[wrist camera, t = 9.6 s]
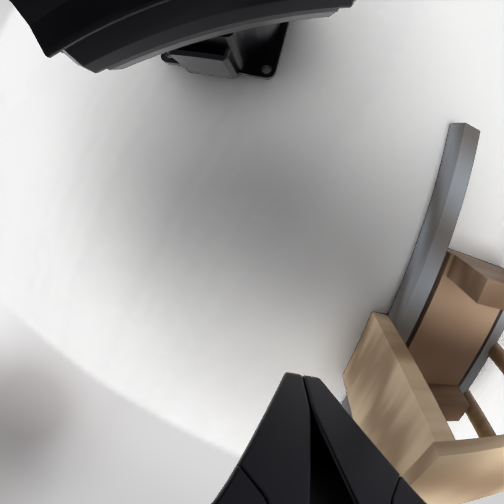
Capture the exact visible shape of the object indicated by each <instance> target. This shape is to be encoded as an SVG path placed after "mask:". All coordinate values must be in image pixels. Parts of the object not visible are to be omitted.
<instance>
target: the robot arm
mask: <svg viewBox="0 0 504 504" xmlns="http://www.w3.org/2000/svg"><path fill="white" fill-rule="evenodd" d="M10 1H11V2H12V4H13V5H14V6H15V8H16V9H17V10H18V11H19V13H20V14H21V15H22V17H23V18H24V19H25V21H26V22H27V23H28V25H29V26H30V28H31V30H32V32H33V34H34V35H35V37H36V39H37V41H38V43H39V45H40V47H41V48H42V50H43V52H44V54H45V55H46V56H47V57H49V58H51V57H53V56H54V55H56V54H58V53H59V52H62V53H65V54H66V55H67V56H68V57H69V58H70V59H71V60H73V61H74V62H75V63H76V64H78V65H80V66H82V67H84V68H86V69H88V70H90V71H92V72H94V73H99V72H101V71H103V70H105V69H109V70H117V69H124V68H127V67H129V66H131V65H134V64H136V63H139V62H141V61H144V60H146V59H149V58H152V57H154V56H157V55H160V54H161V58H162V60H163V61H164V62H165V63H167V64H173V65H182V66H183V67H184V68H185V69H187V70H188V71H189V72H191V73H198V74H205V75H212V76H218V77H224V78H229V79H234V78H235V77H237V76H238V74H241V75H246V76H251V77H256V78H261V79H271V78H272V77H274V75H275V73H276V70H277V66H278V62H279V58H280V55H281V51H282V47H283V43H284V39H285V36H286V32H287V28H288V25H289V21H295V20H302V19H310V18H319V17H329V16H331V15H332V14H334V13H335V12H337V11H338V9H339V8H350V7H351V6H352V5H353V4H354V2H355V1H356V0H10ZM168 54H169V55H170V56H171V57H172V58H169V59H168V58H167V56H168ZM264 67H269V68H270V69H271V72H270V73H268V74H265V73H263V72H262V69H263V68H264ZM399 476H400V474H399V473H398V471H397V470H396V469H395V468H394V467H393V466H392V464H391V463H390V462H389V461H388V460H387V459H386V457H385V456H384V455H383V454H382V453H381V452H380V450H379V449H378V448H377V447H376V446H375V444H374V443H373V442H372V441H371V440H370V439H369V437H368V436H367V435H366V434H365V433H364V431H363V430H362V429H361V428H360V427H359V425H358V424H357V423H356V422H355V421H354V419H353V418H352V417H351V416H350V415H349V413H348V412H347V411H346V410H345V409H344V407H343V406H342V405H341V404H340V403H339V401H338V400H337V399H336V398H335V397H334V395H333V394H332V393H331V392H330V390H329V389H328V388H327V387H326V386H325V384H324V383H323V382H322V381H321V380H320V379H319V378H317V377H311V376H301V375H300V374H294V373H289V372H286V373H285V374H284V376H283V378H282V380H281V382H280V384H279V386H278V388H277V390H276V392H275V394H274V396H273V398H272V400H271V402H270V404H269V406H268V408H267V410H266V412H265V414H264V416H263V418H262V419H261V421H260V423H259V425H258V427H257V429H256V431H255V433H254V434H253V436H252V438H251V440H250V442H249V444H248V445H247V447H246V449H245V451H244V453H243V455H242V456H241V458H240V460H239V462H238V464H237V465H236V467H235V468H234V470H233V472H232V474H231V475H230V477H229V479H228V480H227V482H226V483H225V485H224V486H223V488H222V489H221V491H220V492H219V494H218V496H217V497H216V498H215V500H214V501H213V502H212V503H211V504H427V503H426V502H425V501H424V500H423V499H422V498H421V497H420V496H419V495H418V494H417V493H416V492H415V491H414V489H413V488H412V487H411V486H410V485H409V484H408V483H407V482H406V480H405V479H404V478H403V477H402V476H400V477H399Z"/></svg>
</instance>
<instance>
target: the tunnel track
mask: <svg viewBox="0 0 504 504" xmlns="http://www.w3.org/2000/svg"><path fill="white" fill-rule="evenodd" d="M479 135H480V131H479V130H477V129H476V128H474V127H472V126H470V125H469V124H467V123H452V124H450V127H449V132H448V136H447V141H446V145H445V150H444V154H443V158H442V162H441V166H440V170H439V173H438V177H437V181H436V184H435V188H434V191H433V195H432V198H431V201H430V205H429V208H428V211H427V214H426V217H425V220H424V223H423V226H422V229H421V232H420V235H419V238H418V241H417V244H416V247H415V249H414V252H413V255H412V258H411V260H410V263H409V265H408V268H407V271H406V273H405V276H404V278H403V281H402V283H401V286H400V288H399V290H398V293H397V295H396V298H395V300H394V302H393V305H392V307H391V309H390V311H389V314H388V315H385V314H380V313H376V312H372V314H371V316H370V318H369V321H368V323H367V325H366V327H365V330H364V332H363V334H362V336H361V338H360V341H359V343H358V345H357V347H356V349H355V351H354V353H353V355H352V357H351V359H350V361H349V363H348V365H347V367H346V369H345V371H344V373H343V375H342V376H343V380H344V384H345V388H346V392H347V396H346V398H345V400H344V402H343V403H342V406H343V407H344V409H345V410H346V411H347V412H348V413H349V415H350V416H351V417H352V418H353V419H354V421H355V422H356V423H357V424H358V425H359V427H360V428H361V429H362V430H363V431H364V433H365V434H366V435H367V436H368V437H369V439H370V440H371V441H372V442H373V443H374V444H375V446H376V447H377V448H378V449H379V450H380V452H381V453H382V454H383V455H384V456H385V457H386V459H387V460H388V461H389V462H390V463H391V464H392V466H393V467H394V468H395V469H396V470H397V471H398V473H399V474H400V476H402V477H403V478H404V479H405V480H406V482H407V483H408V484H409V485H410V486H411V487H412V488H413V489H414V491H415V492H416V493H417V494H418V495H419V496H420V497H421V498H422V499H423V500H424V501H425V502H426V503H427V504H462V503H466V502H469V501H473V500H477V499H480V498H483V497H487V496H490V495H493V494H496V493H499V492H502V491H504V435H497V436H496V434H495V432H494V430H493V429H492V427H491V425H490V423H489V422H488V420H487V418H486V417H485V415H484V413H483V412H482V410H481V408H480V407H479V405H478V404H477V402H476V400H475V399H474V397H473V396H472V394H471V392H470V391H469V387H470V386H471V384H472V383H473V381H474V380H475V378H476V377H477V375H478V373H479V372H480V370H481V369H482V367H483V365H484V364H485V362H486V360H487V359H488V357H490V358H491V359H492V361H493V362H494V363H495V364H496V365H497V367H498V368H499V369H500V370H501V372H502V373H503V374H504V350H503V348H502V347H501V346H500V345H499V344H498V343H497V341H498V339H499V338H500V336H501V334H502V332H503V330H504V310H500V311H499V313H498V315H497V317H496V319H495V321H494V323H493V325H492V327H491V329H490V331H489V333H488V335H487V337H486V339H485V340H484V342H483V344H482V346H481V348H480V349H479V351H478V353H477V355H476V356H475V358H474V360H473V361H472V363H471V365H470V366H469V368H468V370H467V371H466V373H465V374H464V376H463V378H462V379H461V381H460V382H459V384H458V387H459V388H460V390H461V392H462V393H463V395H464V396H465V398H466V400H467V401H468V403H469V405H470V406H469V408H468V409H467V410H466V414H467V416H468V418H469V420H470V421H471V423H472V425H473V427H474V429H475V431H476V432H477V434H478V436H479V438H474V439H465V440H455V438H454V436H453V434H452V431H451V429H450V427H449V425H448V423H447V421H446V419H445V417H444V415H443V413H442V411H441V409H440V407H439V405H438V403H437V402H436V400H435V398H434V396H433V394H432V392H431V390H430V388H429V386H428V384H427V383H426V381H425V379H424V377H423V375H422V373H421V372H420V370H419V368H418V366H417V364H416V363H415V361H414V359H413V357H412V355H411V354H410V352H409V350H408V348H407V347H406V345H405V344H406V342H407V340H408V338H409V336H410V334H411V332H412V330H413V328H414V326H415V324H416V322H417V320H418V318H419V316H420V313H421V311H422V309H423V307H424V305H425V303H426V300H427V298H428V296H429V294H430V291H431V289H432V287H433V284H434V282H435V279H436V277H437V275H438V272H439V270H440V267H441V265H442V262H443V259H444V257H445V254H446V251H447V249H448V246H449V243H450V240H451V238H452V235H453V232H454V229H455V226H456V223H457V220H458V217H459V213H460V210H461V207H462V204H463V200H464V197H465V193H466V190H467V186H468V182H469V179H470V175H471V171H472V167H473V163H474V158H475V154H476V149H477V145H478V140H479ZM400 476H399V477H400Z"/></svg>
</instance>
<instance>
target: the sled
mask: <svg viewBox="0 0 504 504" xmlns="http://www.w3.org/2000/svg"><path fill="white" fill-rule="evenodd" d="M500 310H504V269H503V268H501V267H498V266H495V265H493V264H490V263H487V262H485V261H482V260H479V259H476V258H474V257H471V256H468V255H465V254H462V253H459V252H457V251H454V250H451V249H447V251H446V254H445V257H444V259H443V262H442V265H441V267H440V270H439V272H438V275H437V277H436V279H435V282H434V284H433V287H432V289H431V291H430V294H429V296H428V298H427V300H426V303H425V305H424V307H423V309H422V311H421V313H420V316H419V318H418V320H417V322H416V324H415V326H414V328H413V330H412V332H411V334H410V336H409V338H408V340H407V342H406V344H405V345H406V347H407V348H408V350H409V352H410V354H411V355H412V357H413V359H414V361H415V363H416V364H417V366H418V368H419V370H420V372H421V373H422V375H423V377H424V379H425V381H426V383H427V384H428V386H429V388H430V390H431V392H432V394H433V396H434V398H435V400H436V402H437V403H438V405H439V407H440V409H441V411H442V413H443V415H444V417H445V419H446V421H459V420H460V418H461V417H462V416H463V414H464V413H465V412H466V410H467V409H468V408H469V406H470V405H469V403H468V401H467V400H466V398H465V396H464V395H463V393H462V392H461V390H460V388H459V387H458V384H459V382H460V381H461V379H462V378H463V376H464V374H465V373H466V371H467V370H468V368H469V366H470V365H471V363H472V361H473V360H474V358H475V356H476V355H477V353H478V351H479V349H480V348H481V346H482V344H483V342H484V340H485V339H486V337H487V335H488V333H489V331H490V329H491V327H492V325H493V323H494V321H495V319H496V317H497V315H498V313H499V311H500Z"/></svg>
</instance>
